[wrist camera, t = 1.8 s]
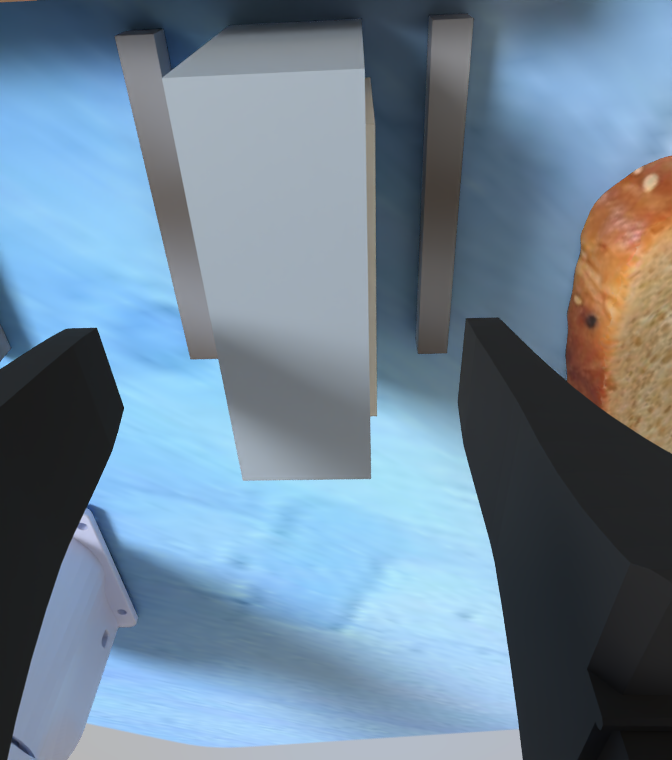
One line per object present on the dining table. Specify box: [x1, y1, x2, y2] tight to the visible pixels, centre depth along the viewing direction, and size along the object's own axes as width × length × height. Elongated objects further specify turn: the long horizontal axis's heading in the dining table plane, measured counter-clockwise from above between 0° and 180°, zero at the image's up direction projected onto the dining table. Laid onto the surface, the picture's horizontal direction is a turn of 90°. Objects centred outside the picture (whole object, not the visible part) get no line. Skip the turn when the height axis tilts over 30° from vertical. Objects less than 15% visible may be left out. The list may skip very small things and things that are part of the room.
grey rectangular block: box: [162, 19, 377, 481], centre depth 16 cm, size 10×4×7 cm, turn 3°
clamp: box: [0, 0, 474, 361], centre depth 17 cm, size 13×18×4 cm
